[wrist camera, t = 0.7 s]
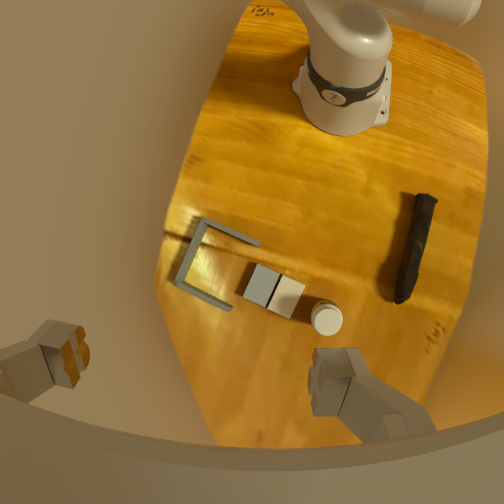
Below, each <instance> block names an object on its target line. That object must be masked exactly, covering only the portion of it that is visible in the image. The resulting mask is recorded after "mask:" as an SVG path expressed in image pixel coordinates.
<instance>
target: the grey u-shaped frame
mask: <svg viewBox="0 0 504 504" xmlns="http://www.w3.org/2000/svg"><path fill="white" fill-rule="evenodd" d="M208 225H211V226H213V227H216V228H218V229H220V230H222V231H224V232H227V233H229V234H231V235H233V236H235V237H238V238H240V239H242V240H244V241H247V242H249V243H251V244H253V245H255V246H258V247H261V244H262V243H261V242H259V241H256V240H254V239H252V238H250V237H248V236H245V235H243V234H241V233H239V232H236V231H234V230H232V229H230V228H227V227H225V226H223V225H221V224H219V223H216V222H214V221H212V220H210V219H207V218H205V217H203V216H202V218H201V220H200V223H199V225H198V227H197V229H196V232H195V234H194V236H193V238H192V241H191V243H190V245H189V248H188V250H187V252H186V255H185V257H184V259H183V262H182V264H181V266H180V269H179V271H178V273H177V276H176V278H175V281H174V283H173V284H174V285H176V286H178V287H179V288H181V289H183V290H185V291H187V292H189V293H191V294H193V295H195V296H197V297H199V298H200V299H202V300H204V301H206V302H208V303H210V304H212V305H214V306H216V307H218V308H220V309H222V310H224V311H226V312H230V311H231V310H232V308H233V306H232V305H230V304H228V303H226V302H224V301H222V300H220V299H218V298H216V297H214V296H212V295H210V294H208V293H206V292H204V291H202V290H200V289H198V288H196V287H194V286H192V285H190V284H188V283H186V282H185V281H184V280H185V278H186V275H187V273H188V271H189V268H190V266H191V264H192V261H193V259H194V257H195V254H196V252H197V250H198V248H199V245H200V243H201V241H202V238H203V236H204V234H205V232H206V229H207V227H208Z"/></svg>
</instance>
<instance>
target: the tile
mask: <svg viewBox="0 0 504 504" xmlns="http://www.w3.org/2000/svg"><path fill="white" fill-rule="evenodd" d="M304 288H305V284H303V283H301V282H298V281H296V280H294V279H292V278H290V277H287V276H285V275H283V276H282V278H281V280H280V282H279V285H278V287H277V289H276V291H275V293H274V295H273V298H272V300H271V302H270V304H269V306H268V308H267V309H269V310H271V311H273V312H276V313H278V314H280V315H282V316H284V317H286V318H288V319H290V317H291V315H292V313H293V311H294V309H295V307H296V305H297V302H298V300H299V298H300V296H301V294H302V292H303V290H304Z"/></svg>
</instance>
